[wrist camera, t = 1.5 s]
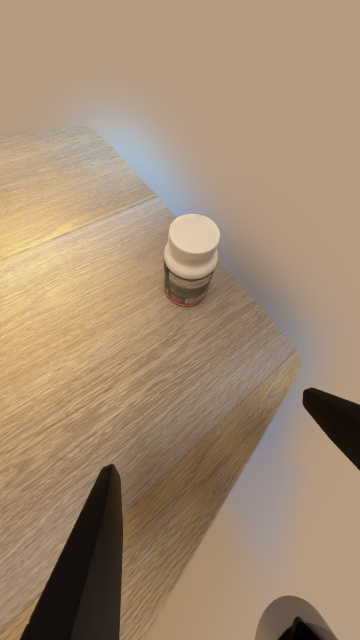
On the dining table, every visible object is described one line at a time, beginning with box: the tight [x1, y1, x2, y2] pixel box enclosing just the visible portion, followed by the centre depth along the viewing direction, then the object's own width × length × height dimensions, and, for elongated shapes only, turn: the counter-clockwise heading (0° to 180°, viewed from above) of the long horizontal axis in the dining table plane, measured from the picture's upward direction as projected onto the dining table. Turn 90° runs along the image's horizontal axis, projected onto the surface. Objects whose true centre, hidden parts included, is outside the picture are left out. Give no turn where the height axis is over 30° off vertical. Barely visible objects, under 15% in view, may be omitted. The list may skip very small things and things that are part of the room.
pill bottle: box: [164, 214, 220, 306], centre depth 21 cm, size 6×6×10 cm
